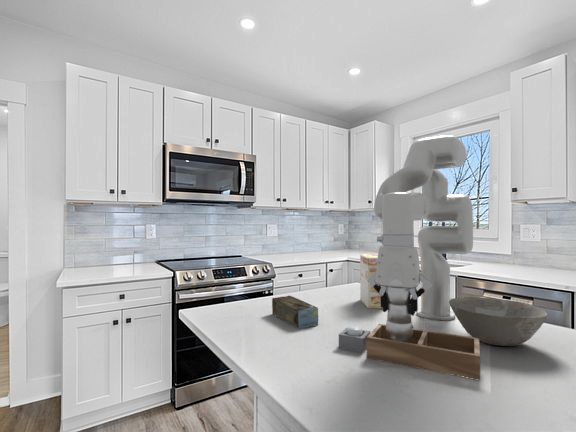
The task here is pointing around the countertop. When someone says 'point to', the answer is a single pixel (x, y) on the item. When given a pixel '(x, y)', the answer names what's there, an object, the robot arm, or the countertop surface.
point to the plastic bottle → (398, 312)
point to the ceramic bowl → (498, 319)
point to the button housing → (353, 341)
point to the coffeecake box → (366, 289)
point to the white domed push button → (354, 331)
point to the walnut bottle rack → (428, 351)
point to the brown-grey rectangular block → (295, 311)
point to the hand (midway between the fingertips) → (398, 311)
